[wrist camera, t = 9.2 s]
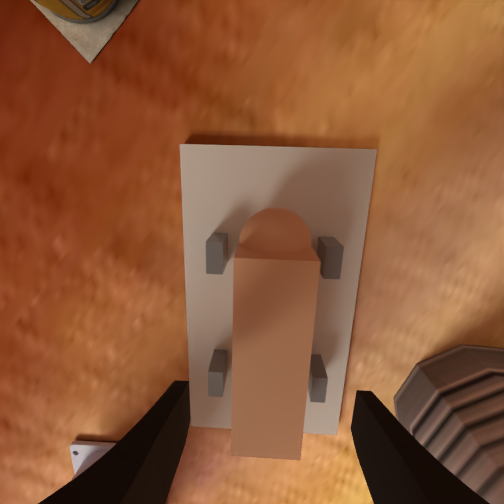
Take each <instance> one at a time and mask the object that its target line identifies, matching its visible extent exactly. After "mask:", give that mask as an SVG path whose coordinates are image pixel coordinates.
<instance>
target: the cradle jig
mask: <svg viewBox="0 0 504 504" xmlns="http://www.w3.org/2000/svg"><path fill="white" fill-rule="evenodd" d="M376 155H377V149H352V148H315V147H277V146H240V145H202V144H180V161H181V187H182V212H183V237H184V263H185V288H186V313H187V338H188V364H189V389H190V414H191V426H194V427H211V428H228V429H231V406H232V337H233V268H234V255H235V253H236V250H237V247H238V244H239V239H240V233H241V231H242V228H243V226H244V224H245V223H246V222H247V220H248V219H249V218H250V217H251V216H252V215H254V214H255V213H257V212H258V211H261V210H263V209H266V208H272V207H278V208H284V209H287V210H290V211H292V212H294V213H295V214H297V215H298V216H299V217H300V218H301V219H302V220H303V221H304V222H305V224H306V225H307V227H308V230H309V232H310V236H311V246H312V248H313V249H314V251H315V253H316V254H317V256H318V258H319V259H320V261H321V265H320V274H319V284H318V294H317V303H316V313H315V322H314V332H313V342H312V351H311V361H310V371H309V380H308V390H307V399H306V409H305V419H304V428H303V433H311V434H328V435H337V430H338V423H339V416H340V409H341V402H342V395H343V388H344V381H345V374H346V367H347V360H348V353H349V346H350V339H351V332H352V324H353V317H354V310H355V303H356V296H357V289H358V282H359V275H360V268H361V261H362V254H363V247H364V240H365V233H366V226H367V219H368V211H369V204H370V197H371V190H372V183H373V176H374V169H375V162H376Z"/></svg>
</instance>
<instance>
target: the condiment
mask: <svg viewBox="0 0 504 504" xmlns="http://www.w3.org/2000/svg"><path fill="white" fill-rule="evenodd" d="M30 1H31V2H32V3H33V4H34V5H35V6H36V7H37V8H38V9H39V10H40V11H41V12H42V13H43V14H44V15H45V16H46V17H47V18H48V19H49V20H50V22H51V23H52V24H53V25H54V26H55V27H56V28H57V29H58V30H59V31H60V32H61V33H62V34H63V35H64V37H65V38H66V39H67V40H68V41H69V42H70V43H71V44H72V45H73V46H74V47H75V48H76V49H77V50H78V51H79V53H80V54H81V55H82V56H83V57H84V58H85V59H86V60H87V61H88V62H89V63H91V62H92V60H93V59H94V58H95V56H96V55H97V54H98V53H99V51H100V50H101V49H102V48H103V46H104V45H105V44H106V43H107V42H108V40H109V39H110V38H111V36H112V34H113V33H114V32H115V31H116V30H117V29H118V27H119V26H120V25H121V23H122V22H123V21H124V19H125V17H126V16H127V15H128V14H129V13H130V11H131V10H132V8H133V7H134V5H135V4H136V3H137V2H138V0H30Z"/></svg>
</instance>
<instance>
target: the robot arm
mask: <svg viewBox="0 0 504 504" xmlns="http://www.w3.org/2000/svg"><path fill="white" fill-rule="evenodd" d="M190 420H191V415H190V389H189V381H177V380H175V381H174V382H173V383H172V384H171V385H170V387H169V388H168V389H167V390H166V392H165V393H164V394H163V395H162V396H161V397H160V399H159V400H158V401H157V402H156V403H155V404H154V406H153V407H152V408H151V409H150V410H149V411H148V412H147V413H146V414H145V415H144V417H143V418H142V419H141V420H140V421H139V422H138V423H137V424H136V425H135V426H134V427H133V428H132V429H131V430H130V431H129V432H128V433H127V434H126V435H125V436H124V437H123V438H122V439H121V440H120V441H119V442H118V443H108V442H92V441H73V442H72V444H71V445H70V452H71V457H72V462H73V468H74V473H75V475H74V477H73V478H72V480H71V481H70V482H69V483H68V484H66V485H65V486H63V487H62V488H60V489H59V490H58V491H56V492H55V493H53V494H52V495H50V496H49V497H47V498H46V499H44V500H43V501H41V502H40V503H38V504H165V502H166V499H167V496H168V493H169V490H170V487H171V484H172V481H173V478H174V475H175V472H176V470H177V467H178V464H179V461H180V458H181V455H182V452H183V449H184V446H185V442H186V438H187V433H188V429H189V424H190ZM351 432H352V436H353V440H354V445H355V449H356V453H357V456H358V459H359V462H360V465H361V468H362V471H363V474H364V477H365V480H366V482H367V485H368V488H369V491H370V494H371V497H372V499H373V502H374V504H490V503H489V502H487V501H486V500H485V499H483V498H482V497H481V496H479V495H478V494H477V493H476V492H474V491H473V490H472V489H471V488H469V487H468V486H467V485H466V484H464V483H463V482H462V481H461V480H460V479H459V478H457V477H456V476H455V475H454V474H453V473H452V472H450V471H449V470H448V469H447V468H446V467H445V466H444V465H442V464H441V463H440V462H439V461H438V460H437V459H436V458H435V457H434V456H433V455H432V454H431V453H430V452H429V451H427V450H426V449H425V448H424V447H423V446H422V445H421V444H420V443H419V442H418V441H417V440H416V439H415V438H414V437H413V436H412V435H411V434H410V433H409V432H408V431H407V430H406V428H405V427H404V426H403V425H402V424H401V423H400V422H399V421H398V420H397V419H396V418H395V417H394V416H393V414H392V413H391V412H390V411H389V410H388V409H387V408H386V407H385V406H384V405H383V403H382V402H381V401H380V400H379V399H378V398H377V397H376V396H375V395H374V393H373V392H372V391H360V390H357V392H356V399H355V405H354V411H353V418H352V424H351Z"/></svg>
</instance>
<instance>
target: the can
mask: <svg viewBox="0 0 504 504" xmlns="http://www.w3.org/2000/svg"><path fill="white" fill-rule="evenodd" d="M394 404H395V411H396V419H397V420H398V421H399V422H400V423H401V424H402V425H403V426H404V427H405V428H406V430H407V431H408V432H409V433H410V434H411V435H412V436H413V437H414V438H415V439H416V440H417V441H418V442H419V443H420V444H421V445H422V446H423V447H424V448H425V449H426V450H427V451H429V452H430V453H431V454H432V455H433V456H434V457H435V458H436V459H437V460H438V461H439V462H440V463H441V464H442V465H444V466H445V467H446V468H447V469H448V470H449V471H450V472H452V473H453V474H454V475H455V476H456V477H457V478H459V479H460V480H461V481H462V482H463V483H464V484H466V485H467V486H468V487H469V488H471V489H472V490H473V491H474V492H476V493H477V494H478V495H479V496H481V497H482V498H483V499H485V500H486V501H487V502H489V503H490V504H504V348H496V347H484V346H473V345H462V344H460V345H458V346H456V347H454V348H451V349H449V350H447V351H445V352H442V353H440V354H438V355H436V356H433V357H431V358H429V359H427V360H424V361H422V362H420V363H418V364H416V366H415V367H414V369H413V370H412V371H411V373H410V374H409V376H408V377H407V379H406V380H405V382H404V383H403V384H402V386H401V387H400V389H399V390H398V392H397V393H396V395H395V396H394Z"/></svg>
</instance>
